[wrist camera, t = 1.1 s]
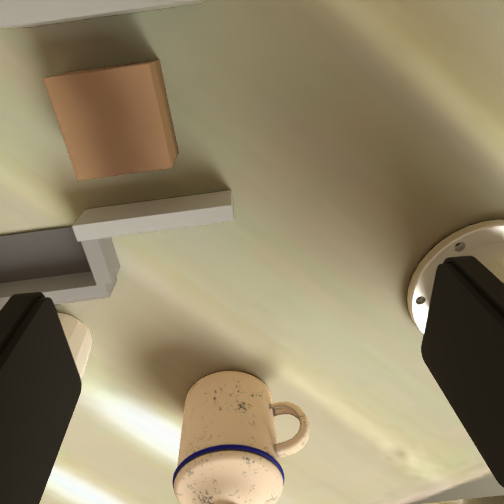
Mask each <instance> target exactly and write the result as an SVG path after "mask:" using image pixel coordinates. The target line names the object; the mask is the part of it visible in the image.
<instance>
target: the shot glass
mask: <svg viewBox="0 0 504 504" xmlns="http://www.w3.org/2000/svg"><path fill="white" fill-rule="evenodd" d="M57 314H58V316H59V319H60V322H61V325H62V328H63V330H64V333H65V336H66V339H67V342H68V344H69V347H70V350H71V353H72V355H73V358H74V361H75V364H76V367H77V369H78V372H79V375H80V378H81V381H82V377H83V374H84V370H85V367H86V364H87V360H88V357H89V353H90V350H91V345H92V337H91V334H90V332H89V330H88V328H87V327H86V326H85V325H84V324H83V323H82V322H81V321H80V320H78V319H76V318H74V317H72V316H70V315H68V314H63V313H57Z"/></svg>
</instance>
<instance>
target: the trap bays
mask: <svg viewBox="0 0 504 504" xmlns="http://www.w3.org/2000/svg"><path fill="white" fill-rule="evenodd" d="M119 268H120V264H119V261H118V258H117V255H116V252H115V249H114V246H113V242H112V239H111V237H109V238H101V239H93V240H86V241H77V239H76V236H75V233H74V230H73V228H72V226H70V227H63V228H55V229H48V230H40V231H33V232H25V233H17V234H10V235H2V236H0V310H1V309H2V308H3V306H4V305H5V304H6V303H7V301H8V300H9V299H10V297H11V296H12V295H14V294H20V293H32V292H41V293H43V294H44V296H45V297H49V298H51V299H52V300H53V303H54V305H55V304H62V303H70V302H78V301H86V300H93V299H101V298H109V297H110V295H111V292H112V290H113V288H114V286H115V284H116V281H117V278H116V275H117V273H118V270H119Z"/></svg>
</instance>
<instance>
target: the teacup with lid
mask: <svg viewBox="0 0 504 504" xmlns="http://www.w3.org/2000/svg"><path fill="white" fill-rule="evenodd" d="M281 414H290V415H293V416H295V417H296V418H298V419H299V421H300V429H299V431H298V433H297V434H296V435H295V436H294V437H293V438H292V439H290V440H288V441H285V442H282V443H278V444H277V436H276V428H275V419H274V416H277V415H281ZM309 436H310V426H309V422H308V419H307V417H306V415H305V414H304V412H303V411H302V410H301V409H300V408H299V407H298V406H296V405H295V404H293V403H289V402H278V403H274V404H273V402H272V396H271V393H270V391H269V389H268V388H267V386H266V385H265V384H264V383H263V382H262V381H261V380H259V379H258V378H256V377H254V376H252V375H250V374H247V373H243V372H238V371H222V372H216V373H213V374H210V375H207V376H205V377H203V378H202V379H200V380H199V381H197V382H196V383H195V384H194V385H193V386H192V387H191V389H190V390H189V392H188V394H187V396H186V400H185V408H184V416H183V425H182V433H181V441H180V450H179V458H178V466H177V469H176V471H175V473H174V476H173V488H174V493H175V496H176V498H177V500H178V501H179V503H180V504H275V502H276V501H277V500H278V498H279V497H280V495H281V492H282V489H283V485H284V473H283V470H282V468H281V466H280V462H279V457H283V456H287V455H290V454H293V453H295V452H297V451H299V450H300V449H301V448H302V447H303V446H304V445H305V444H306V442H307V441H308V439H309Z"/></svg>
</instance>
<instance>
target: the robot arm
mask: <svg viewBox="0 0 504 504" xmlns="http://www.w3.org/2000/svg"><path fill="white" fill-rule="evenodd" d="M407 303H408V310H409V313H410V316H411V318H412V320H413V322H414V323H415V325H416V326H417V328H418V329H419V330H420V332H421V333H422V334H423V335H424V336H423V341H422V346H421V352H422V357H423V360H424V362H425V364H426V365H427V367H428V368H429V370H430V372H431V373H432V375H433V377H434V378H435V380H436V382H437V383H438V385H439V387H440V388H441V390H442V391H443V393H444V395H445V396H446V398H447V400H448V401H449V403H450V405H451V406H452V408H453V409H454V411H455V413H456V414H457V416H458V418H459V419H460V421H461V423H462V424H463V426H464V428H465V429H466V431H467V432H468V434H469V436H470V437H471V439H472V441H473V442H474V444H475V446H476V447H477V449H478V451H479V452H480V454H481V455H482V457H483V459H484V460H485V462H486V464H487V465H488V467H489V469H490V470H491V472H492V474H493V475H494V477H495V478H496V480H497V481H498V483H499V484H500V485H501V486H502V487H504V220H491V221H484V222H480V223H477V224H473V225H470V226H467V227H465V228H463V229H461V230H459V231H457V232H454V233H453V234H451V235H450V236H448V237H447V238H445V239H444V240H442V241H441V242H439V243H438V244H437V245H436V246H435V247H434V248H433V249H432V250H430V251H429V252H428V254H427V255H426V256H425V257H424V258H423V260H422V261H421V262H420V263H419V265H418V267H417V268H416V270H415V272H414V274H413V276H412V278H411V281H410V284H409V287H408V295H407ZM80 393H81V378H80V375H79V372H78V369H77V367H76V364H75V361H74V358H73V355H72V353H71V350H70V347H69V344H68V342H67V339H66V336H65V333H64V330H63V328H62V325H61V322H60V319H59V316H58V314H57V311H56V308H55V305H54V303H53V300H52V299H51V298H49V297H45V296H44V294H43V293H41V292H32V293H20V294H14V295H12V296H11V297H10V299H9V300H8V301H7V303H6V304H5V305H4V306H3V308H2V309H1V310H0V504H39V503H40V500H41V497H42V495H43V492H44V489H45V487H46V484H47V481H48V479H49V476H50V473H51V471H52V468H53V465H54V463H55V460H56V457H57V455H58V452H59V449H60V447H61V444H62V441H63V438H64V436H65V433H66V430H67V428H68V425H69V422H70V420H71V417H72V414H73V412H74V409H75V406H76V404H77V401H78V398H79V396H80ZM424 504H504V496H493V497H483V498H473V499H463V500H453V501H443V502H434V503H424Z"/></svg>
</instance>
